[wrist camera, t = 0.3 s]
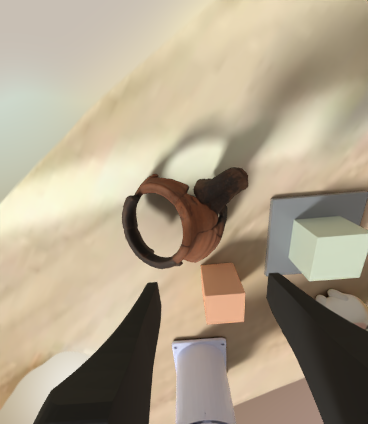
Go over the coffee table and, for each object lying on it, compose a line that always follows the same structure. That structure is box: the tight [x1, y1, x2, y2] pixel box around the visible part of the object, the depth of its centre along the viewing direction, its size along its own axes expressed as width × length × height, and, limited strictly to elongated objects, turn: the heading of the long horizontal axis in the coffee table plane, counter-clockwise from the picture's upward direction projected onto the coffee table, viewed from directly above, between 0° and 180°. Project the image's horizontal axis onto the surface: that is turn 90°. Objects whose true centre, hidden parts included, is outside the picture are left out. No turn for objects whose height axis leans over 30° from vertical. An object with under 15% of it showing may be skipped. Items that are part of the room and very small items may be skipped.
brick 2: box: [289, 216, 368, 281], centre depth 20 cm, size 5×5×4 cm
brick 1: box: [201, 263, 245, 324], centre depth 22 cm, size 4×4×5 cm
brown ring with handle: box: [122, 167, 248, 269], centre depth 18 cm, size 12×10×8 cm
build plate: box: [264, 191, 368, 276], centre depth 22 cm, size 10×10×1 cm
